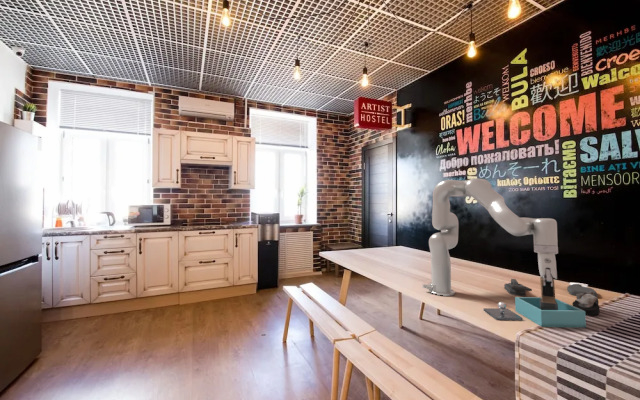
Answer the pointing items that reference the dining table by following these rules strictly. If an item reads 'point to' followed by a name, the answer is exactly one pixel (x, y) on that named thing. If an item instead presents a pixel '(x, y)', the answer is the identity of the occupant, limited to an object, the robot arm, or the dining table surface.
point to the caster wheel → (587, 303)
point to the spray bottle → (579, 289)
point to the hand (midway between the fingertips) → (547, 294)
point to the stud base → (502, 313)
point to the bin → (550, 313)
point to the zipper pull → (516, 288)
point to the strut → (548, 299)
